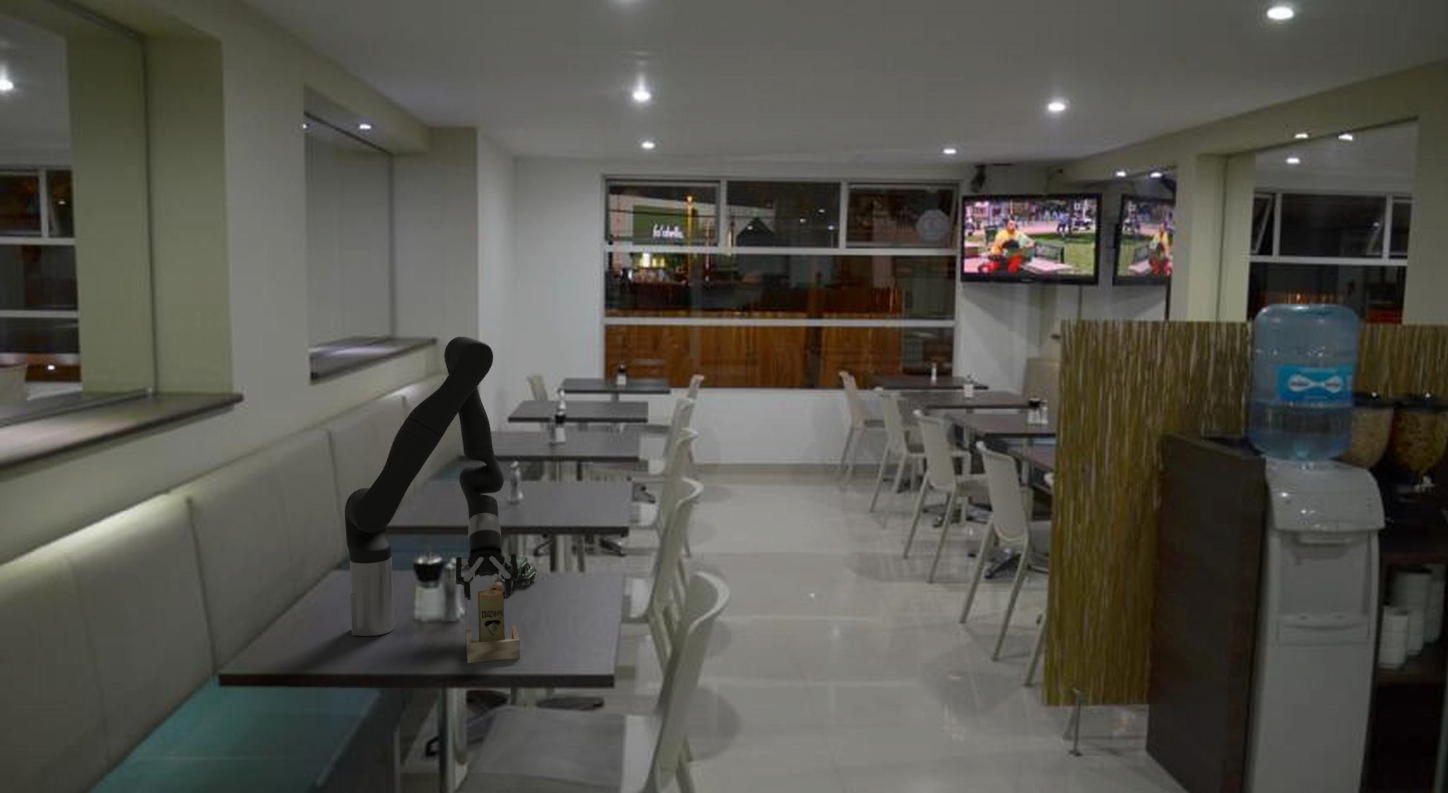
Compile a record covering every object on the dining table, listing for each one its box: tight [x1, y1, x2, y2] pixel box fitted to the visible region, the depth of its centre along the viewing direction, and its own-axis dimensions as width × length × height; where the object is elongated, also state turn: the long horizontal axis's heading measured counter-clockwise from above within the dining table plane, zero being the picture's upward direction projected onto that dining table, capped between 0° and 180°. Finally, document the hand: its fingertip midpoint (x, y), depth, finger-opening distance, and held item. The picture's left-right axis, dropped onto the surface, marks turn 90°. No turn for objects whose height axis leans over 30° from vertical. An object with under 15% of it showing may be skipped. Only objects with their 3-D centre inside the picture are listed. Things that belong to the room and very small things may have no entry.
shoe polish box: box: [477, 589, 506, 642], centre depth 232 cm, size 5×5×12 cm
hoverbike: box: [489, 554, 538, 597], centre depth 279 cm, size 10×25×8 cm, turn 173°
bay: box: [465, 625, 521, 664], centre depth 233 cm, size 11×11×4 cm
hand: (488, 597), depth 243 cm, fingers open, 8 cm apart
